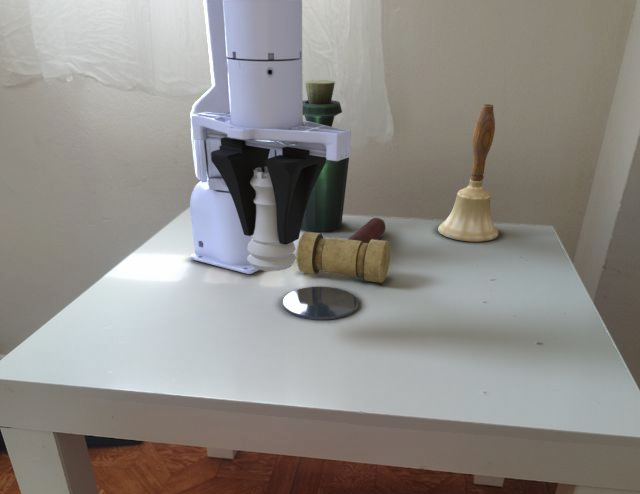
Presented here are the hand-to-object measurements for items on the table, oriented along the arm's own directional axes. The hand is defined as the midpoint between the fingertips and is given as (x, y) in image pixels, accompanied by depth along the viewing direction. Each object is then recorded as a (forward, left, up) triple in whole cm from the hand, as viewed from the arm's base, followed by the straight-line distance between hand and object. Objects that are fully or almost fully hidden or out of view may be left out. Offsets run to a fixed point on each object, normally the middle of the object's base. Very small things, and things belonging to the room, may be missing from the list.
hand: (270, 236), depth 54 cm
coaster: (0, +8, -9) cm, 12 cm away
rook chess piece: (0, 0, -3) cm, 3 cm away
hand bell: (+4, +40, -10) cm, 42 cm away
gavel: (-4, +24, -10) cm, 26 cm away
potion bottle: (-15, +31, -10) cm, 36 cm away
